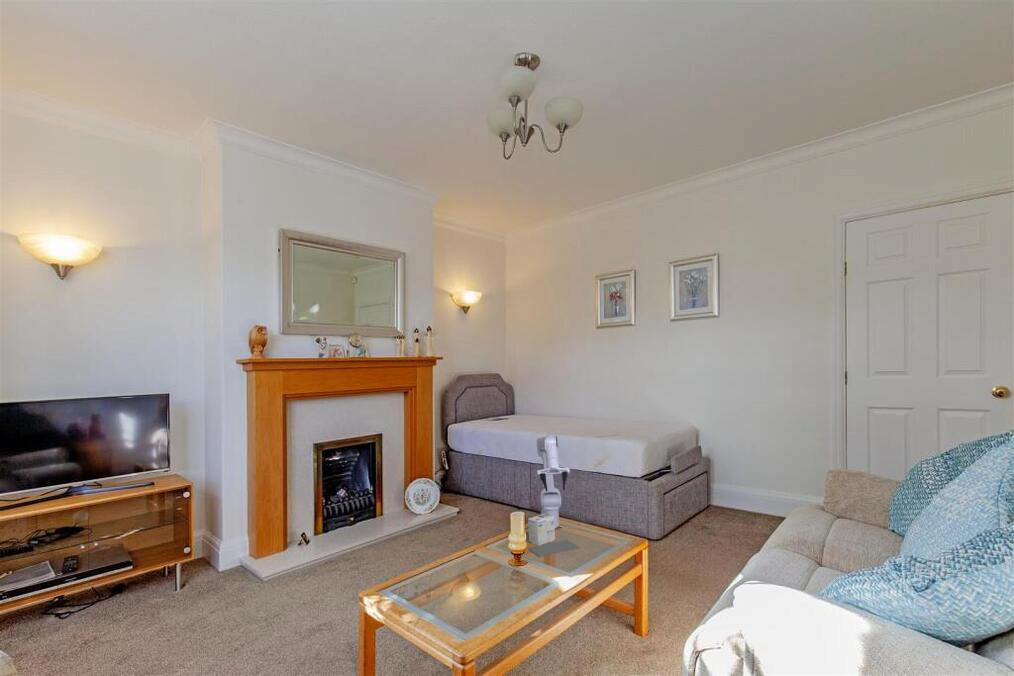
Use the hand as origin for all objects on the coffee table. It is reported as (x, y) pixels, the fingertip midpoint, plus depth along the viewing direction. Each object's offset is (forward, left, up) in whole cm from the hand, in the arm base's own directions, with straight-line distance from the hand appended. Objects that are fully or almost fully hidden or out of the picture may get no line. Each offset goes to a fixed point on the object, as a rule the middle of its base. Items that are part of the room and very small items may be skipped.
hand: (555, 490), depth 211 cm
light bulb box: (-8, -3, -24) cm, 25 cm away
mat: (+2, -3, -24) cm, 24 cm away
